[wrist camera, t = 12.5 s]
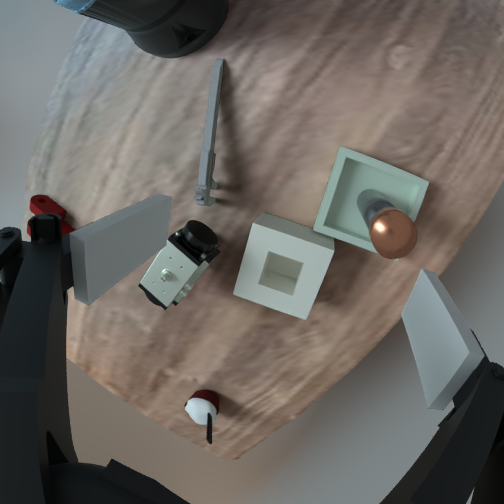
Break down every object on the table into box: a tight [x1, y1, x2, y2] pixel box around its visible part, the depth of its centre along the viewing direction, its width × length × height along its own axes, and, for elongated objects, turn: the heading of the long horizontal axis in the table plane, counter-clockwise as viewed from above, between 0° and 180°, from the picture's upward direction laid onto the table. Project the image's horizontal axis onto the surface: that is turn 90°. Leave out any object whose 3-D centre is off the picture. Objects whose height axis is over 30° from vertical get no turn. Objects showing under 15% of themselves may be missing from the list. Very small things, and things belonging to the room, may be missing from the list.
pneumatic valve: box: [138, 220, 220, 310], centre depth 39 cm, size 6×12×12 cm, turn 142°
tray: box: [313, 146, 429, 261], centre depth 36 cm, size 11×12×2 cm
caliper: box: [193, 59, 224, 206], centre depth 36 cm, size 20×1×6 cm, turn 178°
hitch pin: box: [357, 189, 417, 259], centre depth 30 cm, size 4×4×15 cm
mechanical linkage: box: [27, 195, 75, 236], centre depth 49 cm, size 16×7×5 cm, turn 62°
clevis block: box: [233, 212, 335, 320], centre depth 40 cm, size 10×10×6 cm
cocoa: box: [185, 390, 219, 444], centre depth 51 cm, size 10×6×12 cm, turn 88°
